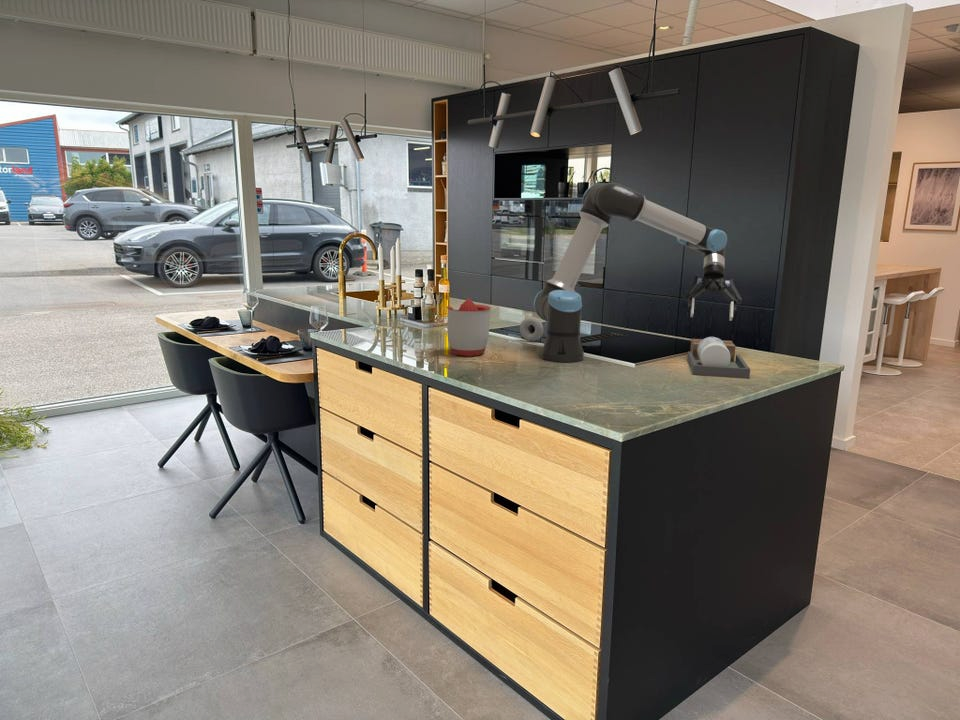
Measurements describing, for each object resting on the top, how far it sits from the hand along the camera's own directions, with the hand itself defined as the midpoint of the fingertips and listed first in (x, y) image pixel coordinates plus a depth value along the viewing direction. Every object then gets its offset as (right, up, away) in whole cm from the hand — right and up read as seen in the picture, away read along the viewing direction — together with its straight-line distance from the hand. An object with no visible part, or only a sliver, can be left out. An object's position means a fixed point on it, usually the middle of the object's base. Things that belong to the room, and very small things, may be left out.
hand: (711, 317), depth 245 cm
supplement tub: (-4, -12, -10) cm, 16 cm away
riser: (0, -15, -1) cm, 15 cm away
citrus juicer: (-89, -13, +2) cm, 90 cm away
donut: (-63, -8, +25) cm, 68 cm away
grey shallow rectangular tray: (-3, -18, -15) cm, 24 cm away
